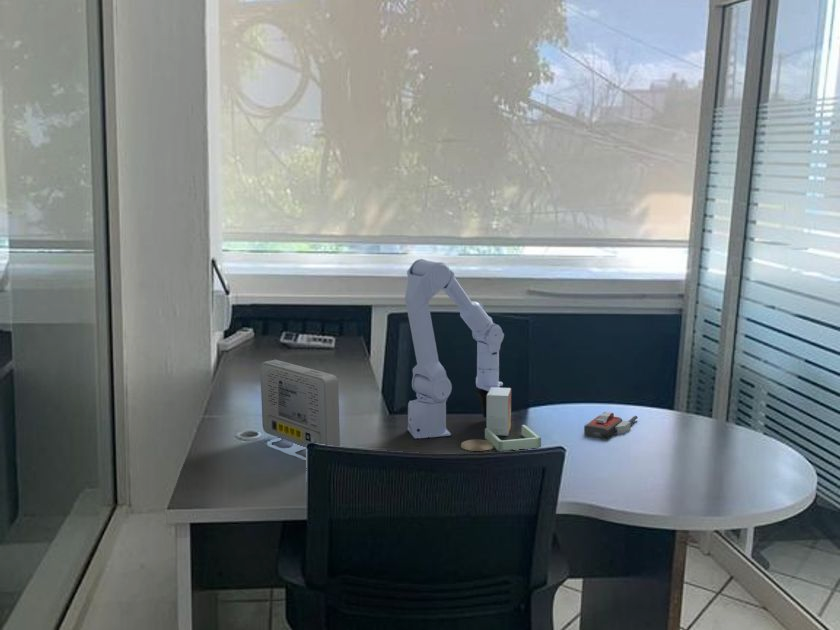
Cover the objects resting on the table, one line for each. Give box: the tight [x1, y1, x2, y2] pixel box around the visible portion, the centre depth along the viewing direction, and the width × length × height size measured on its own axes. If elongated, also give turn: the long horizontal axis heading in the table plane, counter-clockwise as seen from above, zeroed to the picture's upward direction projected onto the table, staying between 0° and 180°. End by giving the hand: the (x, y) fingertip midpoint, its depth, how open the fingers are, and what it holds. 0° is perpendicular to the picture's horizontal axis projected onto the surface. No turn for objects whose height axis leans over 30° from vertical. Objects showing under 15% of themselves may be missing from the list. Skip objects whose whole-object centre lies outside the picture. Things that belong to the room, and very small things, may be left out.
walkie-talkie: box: [583, 411, 639, 440], centre depth 223 cm, size 9×4×20 cm
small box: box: [485, 387, 512, 436], centre depth 221 cm, size 8×6×10 cm
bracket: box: [484, 424, 542, 452], centre depth 212 cm, size 11×11×2 cm
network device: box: [259, 359, 341, 447], centre depth 208 cm, size 26×9×20 cm, turn 45°
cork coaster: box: [460, 439, 495, 452], centre depth 210 cm, size 8×8×1 cm
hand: (487, 416), depth 230 cm, fingers closed
